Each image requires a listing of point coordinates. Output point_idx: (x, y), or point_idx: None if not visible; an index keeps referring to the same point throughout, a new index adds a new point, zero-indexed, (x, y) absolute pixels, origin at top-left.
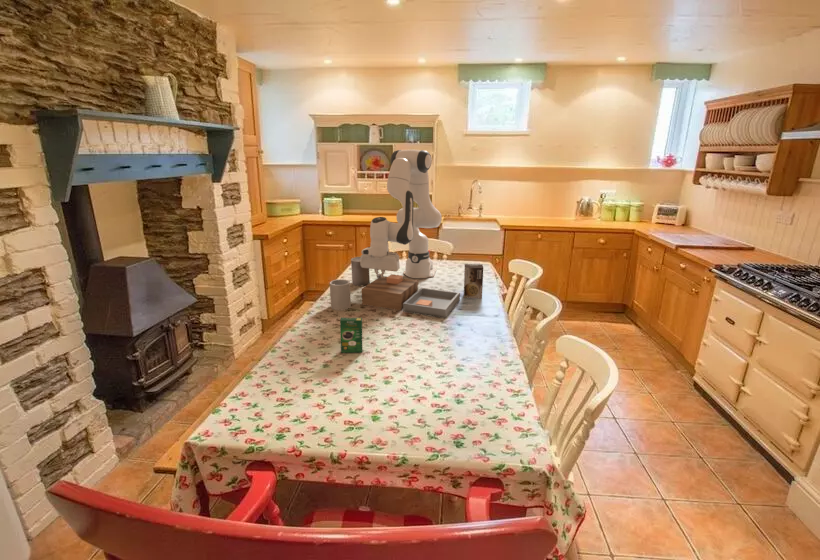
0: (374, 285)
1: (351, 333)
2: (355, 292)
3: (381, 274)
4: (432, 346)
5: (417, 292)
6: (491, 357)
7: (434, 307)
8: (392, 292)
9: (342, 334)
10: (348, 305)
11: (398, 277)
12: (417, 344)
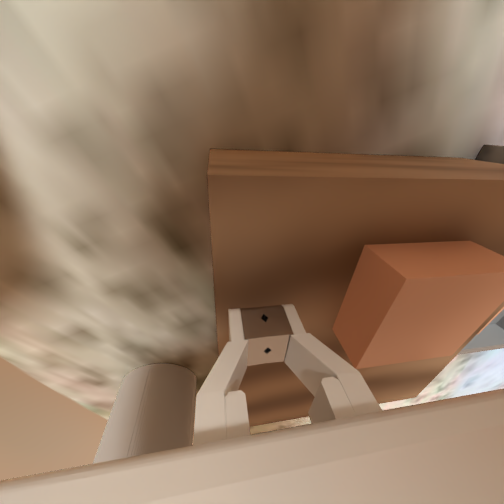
0: (268, 389)
1: None
2: (66, 254)
3: (297, 369)
4: (422, 402)
5: None
6: (498, 388)
7: (493, 347)
8: (380, 401)
9: None
10: (195, 393)
11: (466, 328)
12: (398, 407)
